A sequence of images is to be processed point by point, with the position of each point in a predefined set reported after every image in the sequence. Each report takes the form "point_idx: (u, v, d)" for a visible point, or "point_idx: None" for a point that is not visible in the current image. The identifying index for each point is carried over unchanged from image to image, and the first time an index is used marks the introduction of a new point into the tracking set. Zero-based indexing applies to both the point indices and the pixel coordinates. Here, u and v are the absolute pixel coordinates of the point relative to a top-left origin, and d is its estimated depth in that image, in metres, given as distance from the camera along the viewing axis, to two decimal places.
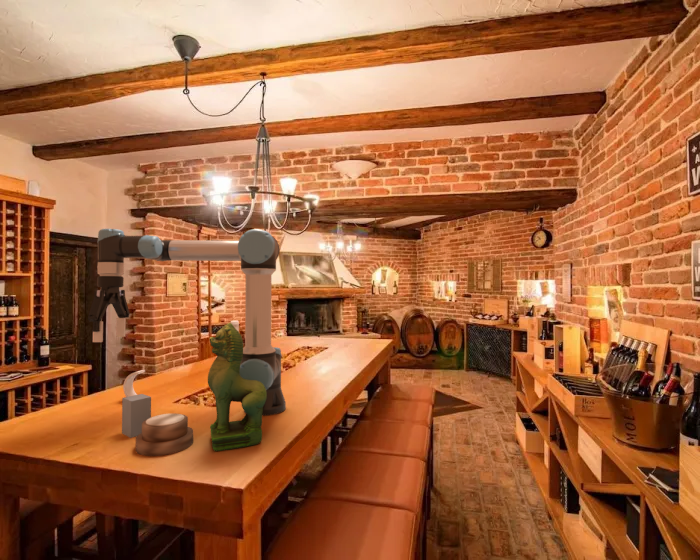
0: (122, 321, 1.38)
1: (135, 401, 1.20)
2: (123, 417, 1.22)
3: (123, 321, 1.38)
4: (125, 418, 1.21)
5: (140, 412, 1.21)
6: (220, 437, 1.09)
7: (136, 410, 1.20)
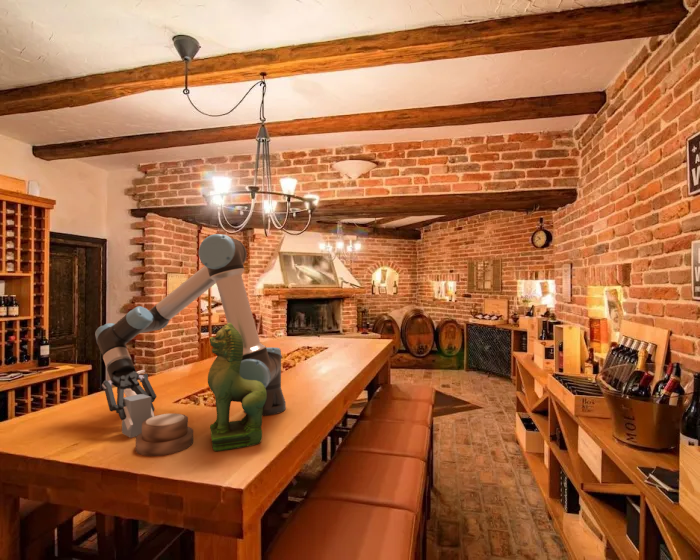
0: None
1: (135, 401, 1.20)
2: None
3: None
4: None
5: (140, 412, 1.21)
6: (220, 437, 1.09)
7: (136, 409, 1.20)
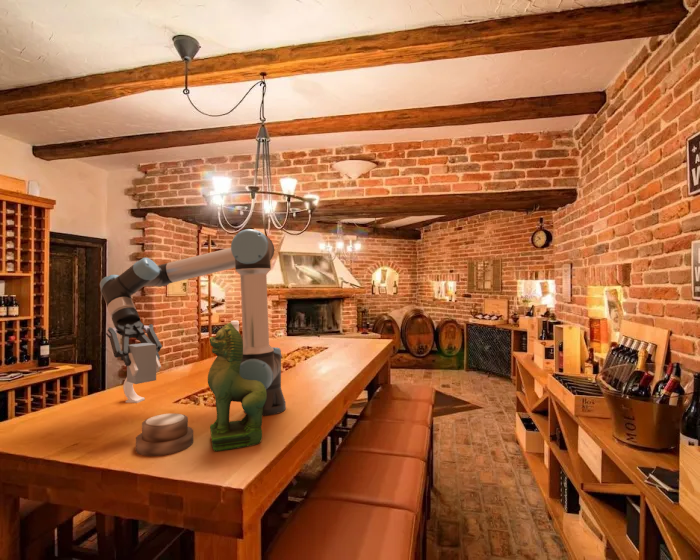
0: None
1: (140, 347, 1.18)
2: None
3: None
4: None
5: (145, 359, 1.19)
6: (220, 437, 1.09)
7: (141, 356, 1.18)
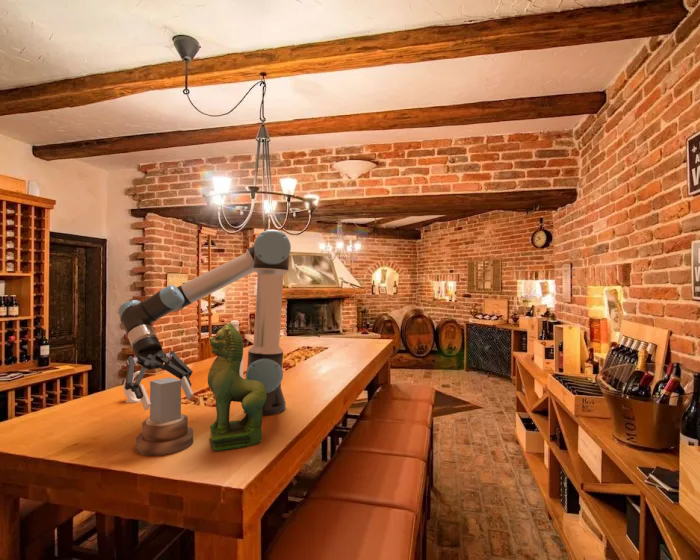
0: (183, 381, 1.19)
1: (165, 384, 1.11)
2: (151, 402, 1.13)
3: (184, 380, 1.19)
4: (154, 403, 1.12)
5: (170, 397, 1.12)
6: (220, 437, 1.09)
7: (166, 393, 1.11)
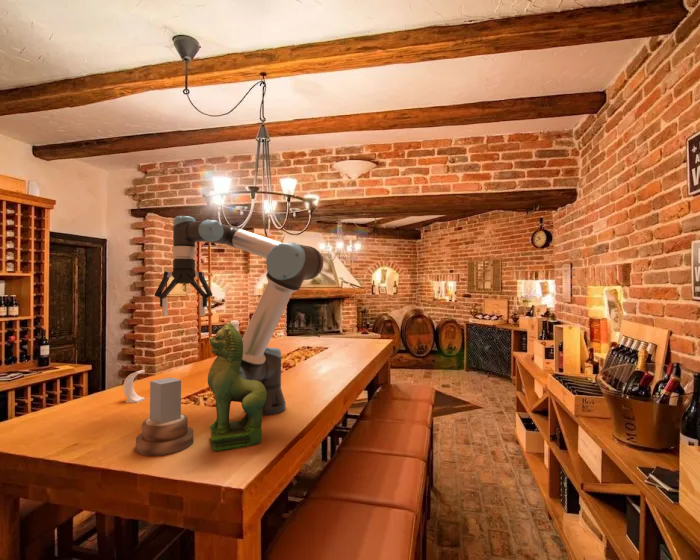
0: None
1: (165, 384, 1.11)
2: (151, 402, 1.13)
3: None
4: (154, 403, 1.12)
5: (170, 397, 1.12)
6: (220, 437, 1.09)
7: (166, 393, 1.11)
